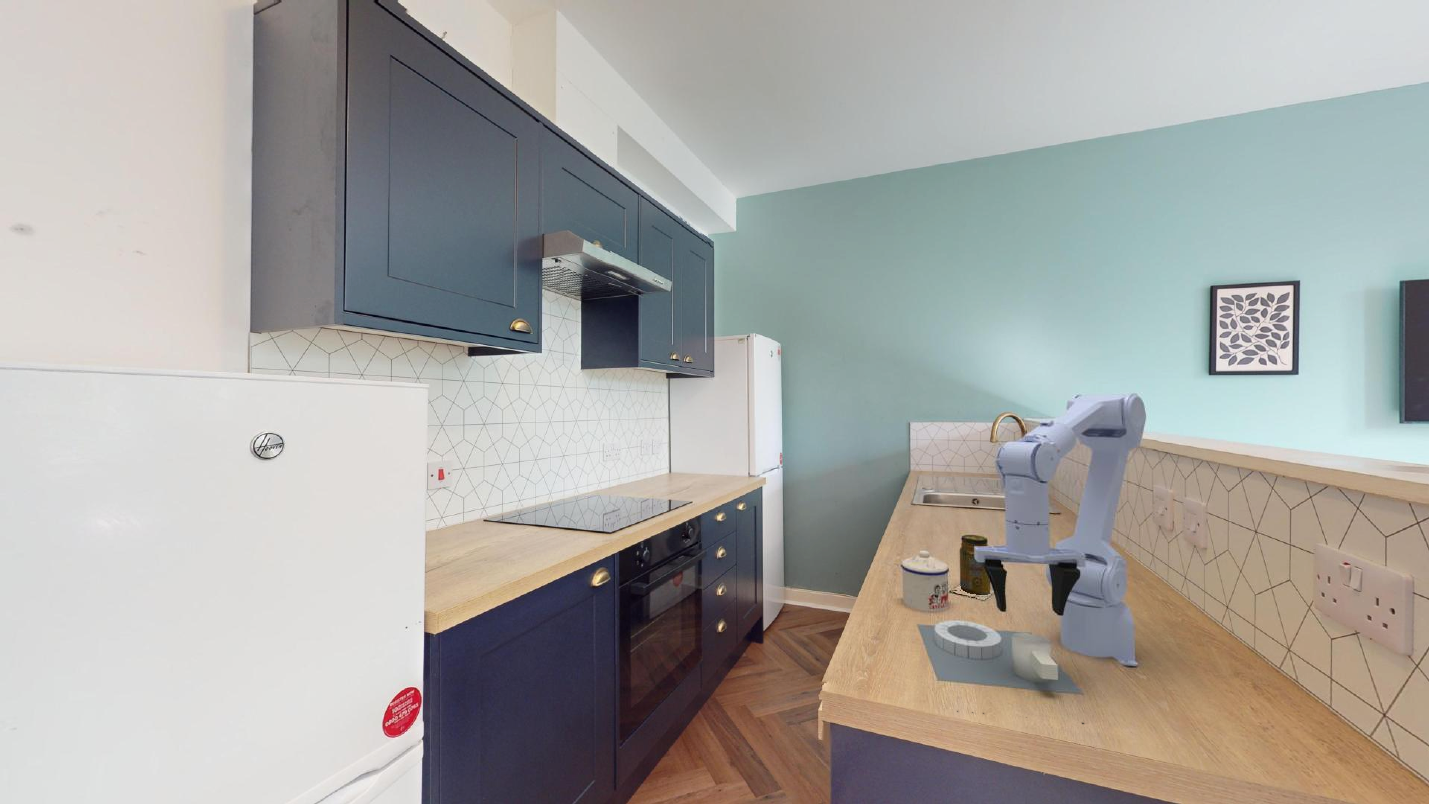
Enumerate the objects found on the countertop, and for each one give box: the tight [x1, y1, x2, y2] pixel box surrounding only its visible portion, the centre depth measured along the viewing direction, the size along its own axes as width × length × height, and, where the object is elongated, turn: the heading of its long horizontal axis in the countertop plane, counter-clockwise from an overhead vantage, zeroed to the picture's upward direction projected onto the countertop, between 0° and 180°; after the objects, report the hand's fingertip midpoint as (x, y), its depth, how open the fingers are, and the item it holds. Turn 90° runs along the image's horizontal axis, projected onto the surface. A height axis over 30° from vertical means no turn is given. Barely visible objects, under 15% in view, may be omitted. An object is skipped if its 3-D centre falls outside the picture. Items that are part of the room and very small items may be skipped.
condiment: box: [948, 534, 995, 601], centre depth 115 cm, size 7×8×12 cm
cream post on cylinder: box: [1012, 632, 1059, 682], centre depth 76 cm, size 9×5×5 cm, turn 168°
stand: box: [916, 619, 1085, 696], centre depth 84 cm, size 19×20×3 cm
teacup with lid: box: [900, 550, 950, 613], centre depth 106 cm, size 12×9×12 cm
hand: (1029, 611), depth 78 cm, fingers open, 7 cm apart
